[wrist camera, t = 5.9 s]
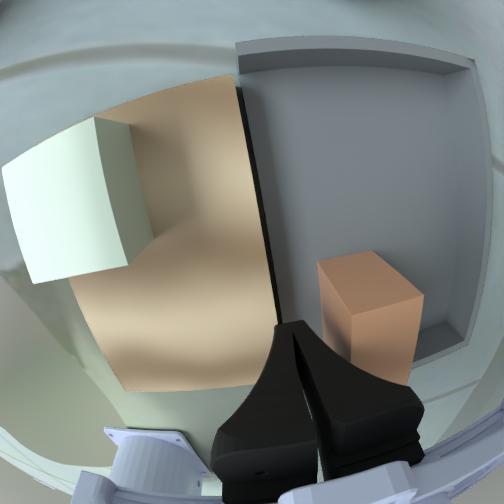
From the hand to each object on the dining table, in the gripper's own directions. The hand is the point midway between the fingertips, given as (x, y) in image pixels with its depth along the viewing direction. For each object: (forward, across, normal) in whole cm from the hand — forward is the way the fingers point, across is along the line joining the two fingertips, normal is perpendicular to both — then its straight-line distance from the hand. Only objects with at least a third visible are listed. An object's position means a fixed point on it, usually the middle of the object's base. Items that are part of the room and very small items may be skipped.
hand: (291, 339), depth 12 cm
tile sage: (+1, +8, -8) cm, 11 cm away
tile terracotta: (0, -2, 0) cm, 2 cm away
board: (+3, +6, -4) cm, 7 cm away
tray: (+3, -6, -4) cm, 8 cm away
